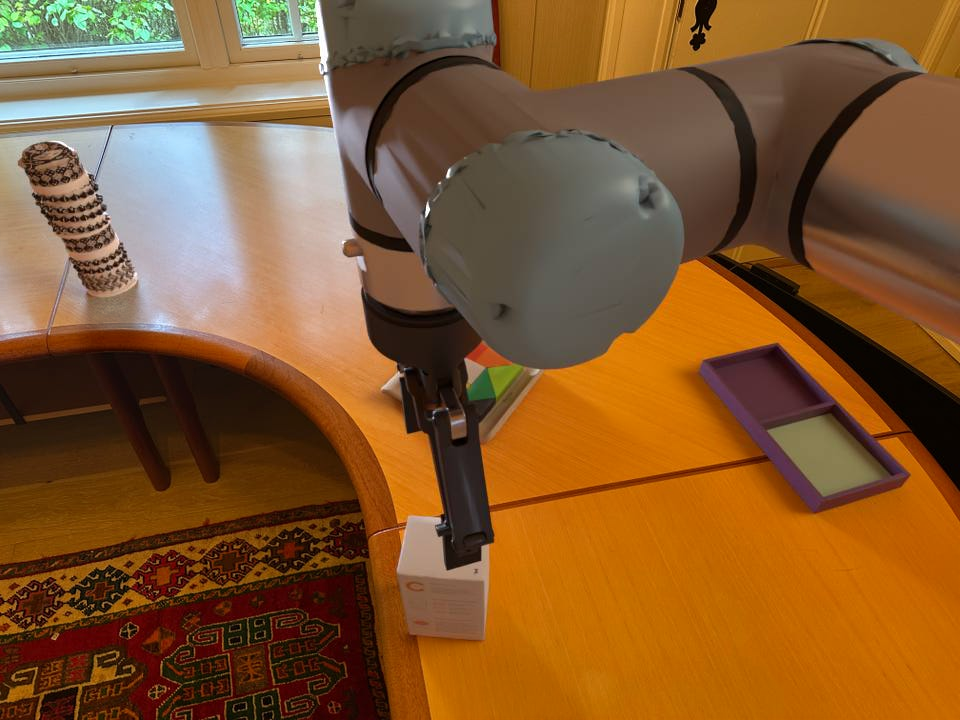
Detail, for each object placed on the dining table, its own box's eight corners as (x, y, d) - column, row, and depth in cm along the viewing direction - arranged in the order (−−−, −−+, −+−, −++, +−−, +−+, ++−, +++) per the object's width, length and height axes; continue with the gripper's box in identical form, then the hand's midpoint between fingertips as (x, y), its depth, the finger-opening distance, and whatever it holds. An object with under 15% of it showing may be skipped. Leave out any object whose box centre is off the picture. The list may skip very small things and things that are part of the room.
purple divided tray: (772, 354, 94) (777, 342, 93) (901, 487, 76) (911, 474, 75) (698, 372, 91) (702, 359, 90) (814, 514, 74) (822, 502, 72)
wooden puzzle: (488, 450, 81) (489, 433, 78) (377, 396, 88) (374, 379, 85) (548, 372, 91) (550, 355, 89) (445, 329, 99) (444, 313, 96)
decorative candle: (147, 284, 108) (85, 149, 91) (92, 305, 103) (15, 167, 86) (131, 262, 113) (69, 130, 96) (78, 281, 108) (2, 145, 91)
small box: (489, 583, 67) (490, 519, 58) (485, 642, 62) (485, 582, 54) (417, 578, 68) (407, 513, 59) (407, 635, 63) (395, 575, 54)
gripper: (332, 189, 43) (369, 393, 58) (407, 459, 26) (432, 651, 41) (434, 174, 45) (445, 376, 59) (568, 419, 28) (536, 618, 42)
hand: (439, 488), depth 50 cm, fingers open, 13 cm apart
